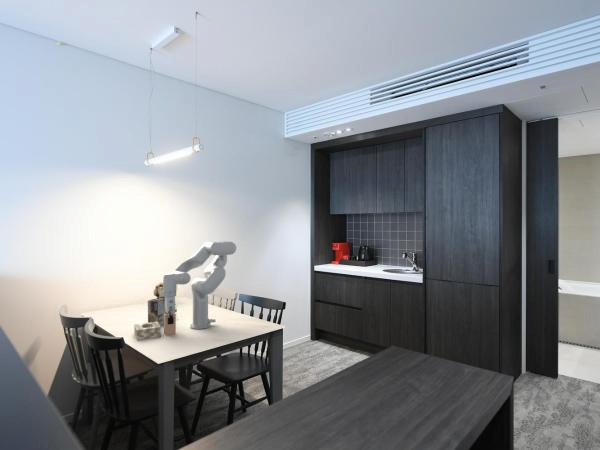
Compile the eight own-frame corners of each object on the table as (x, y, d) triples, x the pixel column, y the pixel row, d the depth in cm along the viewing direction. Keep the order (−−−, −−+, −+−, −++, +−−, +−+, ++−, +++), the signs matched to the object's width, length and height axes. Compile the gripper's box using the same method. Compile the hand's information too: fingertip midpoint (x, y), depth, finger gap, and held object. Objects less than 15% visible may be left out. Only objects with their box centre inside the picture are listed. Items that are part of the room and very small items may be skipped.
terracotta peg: (174, 332, 223) (174, 312, 222) (175, 334, 219) (175, 314, 219) (163, 333, 220) (163, 313, 219) (165, 335, 216) (165, 315, 216)
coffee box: (165, 324, 239) (165, 299, 239) (157, 326, 233) (157, 301, 233) (155, 322, 243) (155, 298, 243) (147, 325, 237) (147, 300, 237)
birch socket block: (157, 330, 226) (157, 321, 226) (160, 336, 214) (160, 327, 214) (134, 333, 219) (134, 324, 219) (136, 339, 208) (136, 330, 208)
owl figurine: (148, 302, 300) (148, 282, 300) (162, 300, 308) (162, 280, 308) (157, 306, 287) (157, 284, 287) (172, 304, 296) (172, 283, 296)
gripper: (179, 295, 213) (178, 324, 213) (173, 290, 228) (172, 318, 228) (165, 296, 209) (165, 326, 210) (160, 291, 224) (160, 319, 224)
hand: (169, 322), depth 219 cm, fingers open, 9 cm apart
